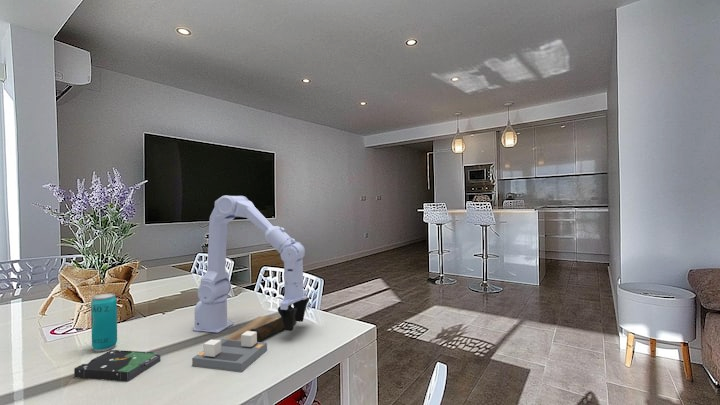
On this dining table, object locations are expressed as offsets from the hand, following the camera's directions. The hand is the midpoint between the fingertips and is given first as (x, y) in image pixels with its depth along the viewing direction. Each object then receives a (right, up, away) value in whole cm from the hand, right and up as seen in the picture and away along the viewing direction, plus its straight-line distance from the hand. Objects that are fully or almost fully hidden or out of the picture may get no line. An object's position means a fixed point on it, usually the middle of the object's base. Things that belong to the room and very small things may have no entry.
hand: (294, 325), depth 104 cm
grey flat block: (-14, -3, -16) cm, 21 cm away
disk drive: (-40, -4, -21) cm, 45 cm away
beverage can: (-52, -3, -9) cm, 53 cm away
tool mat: (-14, -3, +3) cm, 15 cm away
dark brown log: (-6, -3, +1) cm, 7 cm away
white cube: (-17, 0, -19) cm, 25 cm away
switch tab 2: (-10, 0, -13) cm, 16 cm away
